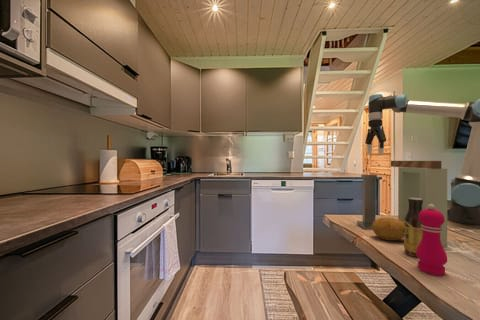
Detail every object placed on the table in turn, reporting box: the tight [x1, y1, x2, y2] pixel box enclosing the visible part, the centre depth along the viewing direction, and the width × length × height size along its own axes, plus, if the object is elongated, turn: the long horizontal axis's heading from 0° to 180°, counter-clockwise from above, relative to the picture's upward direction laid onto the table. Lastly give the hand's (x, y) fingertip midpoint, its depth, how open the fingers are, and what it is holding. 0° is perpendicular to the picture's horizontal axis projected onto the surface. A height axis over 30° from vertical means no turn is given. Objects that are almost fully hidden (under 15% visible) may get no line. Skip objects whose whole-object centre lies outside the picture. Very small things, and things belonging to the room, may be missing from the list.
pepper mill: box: [416, 204, 448, 276], centre depth 68 cm, size 7×7×20 cm
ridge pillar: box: [356, 174, 378, 231], centre depth 113 cm, size 8×8×26 cm
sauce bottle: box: [403, 198, 423, 258], centre depth 80 cm, size 6×6×20 cm
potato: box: [372, 217, 404, 241], centre depth 95 cm, size 10×13×9 cm
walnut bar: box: [390, 160, 442, 169], centre depth 102 cm, size 28×3×3 cm, turn 176°
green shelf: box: [397, 167, 448, 247], centre depth 97 cm, size 17×8×30 cm, turn 176°
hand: (374, 154), depth 142 cm, fingers open, 13 cm apart
